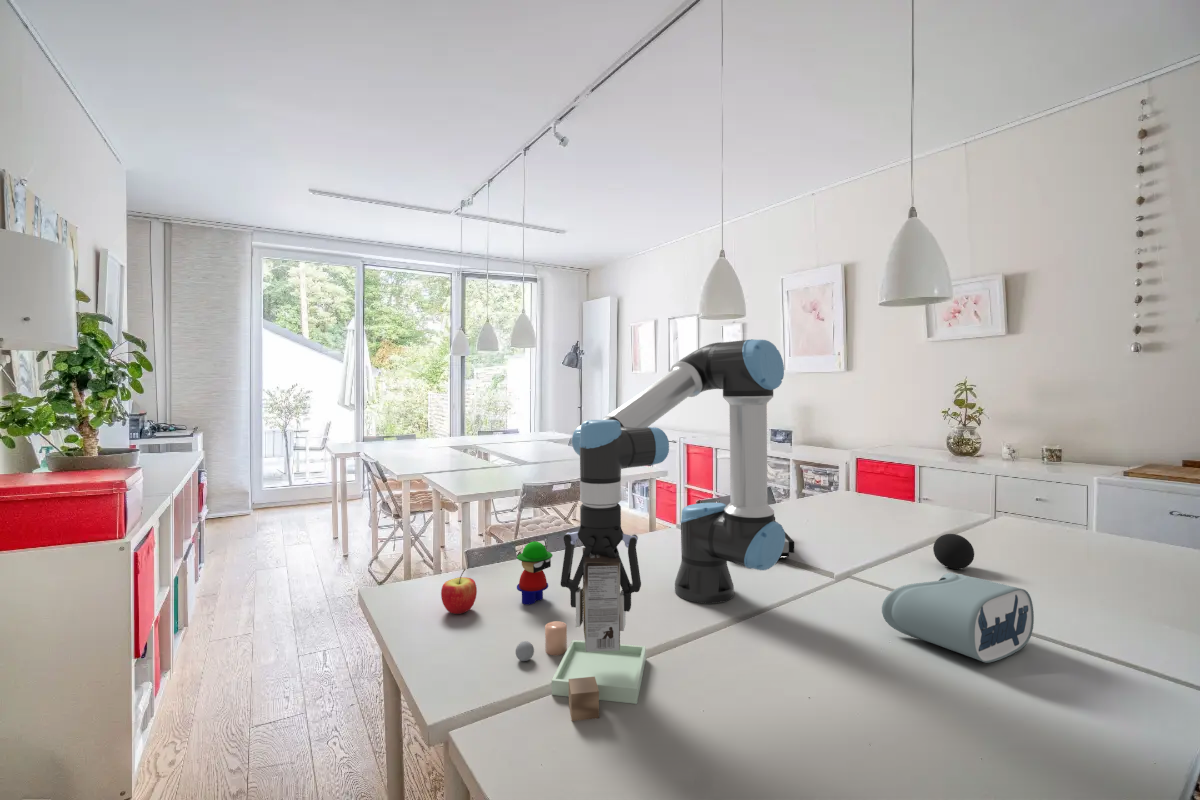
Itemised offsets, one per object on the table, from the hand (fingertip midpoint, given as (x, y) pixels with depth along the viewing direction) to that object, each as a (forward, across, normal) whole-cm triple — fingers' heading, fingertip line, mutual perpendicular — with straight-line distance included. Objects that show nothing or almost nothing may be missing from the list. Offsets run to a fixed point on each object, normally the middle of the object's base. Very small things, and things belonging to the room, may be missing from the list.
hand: (600, 625), depth 98 cm
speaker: (+9, -91, -75) cm, 118 cm away
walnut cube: (+10, +1, +11) cm, 15 cm away
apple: (+10, +39, -22) cm, 46 cm away
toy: (+10, +23, -31) cm, 40 cm away
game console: (+10, -34, -86) cm, 94 cm away
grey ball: (+8, +16, -3) cm, 18 cm away
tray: (+10, 0, 0) cm, 10 cm away
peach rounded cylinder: (+10, +11, -8) cm, 17 cm away
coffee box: (+3, 0, 0) cm, 3 cm away
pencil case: (+10, -71, -27) cm, 77 cm away
